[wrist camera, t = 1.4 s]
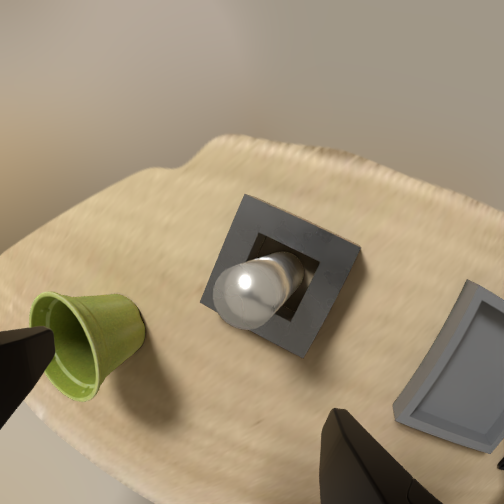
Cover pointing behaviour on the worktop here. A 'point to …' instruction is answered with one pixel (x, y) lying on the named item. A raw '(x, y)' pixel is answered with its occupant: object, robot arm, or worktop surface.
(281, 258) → the pin
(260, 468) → the worktop surface
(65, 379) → the plant pot
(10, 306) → the worktop surface
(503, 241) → the worktop surface
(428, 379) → the parts tray
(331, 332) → the worktop surface
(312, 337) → the pin holder
